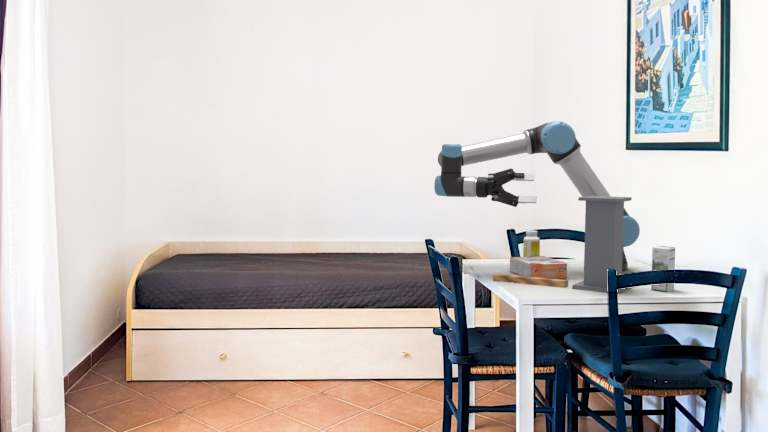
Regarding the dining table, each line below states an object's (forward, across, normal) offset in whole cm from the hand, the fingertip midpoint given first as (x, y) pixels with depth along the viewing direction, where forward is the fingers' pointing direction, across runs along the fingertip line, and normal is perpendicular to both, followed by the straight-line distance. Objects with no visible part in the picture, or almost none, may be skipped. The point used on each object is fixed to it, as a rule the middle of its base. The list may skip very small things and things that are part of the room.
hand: (535, 188), depth 283 cm
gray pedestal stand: (+25, -9, -34) cm, 43 cm away
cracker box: (-4, -30, -13) cm, 34 cm away
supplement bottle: (-5, -54, +1) cm, 54 cm away
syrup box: (+44, -11, -32) cm, 56 cm away
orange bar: (0, -9, -32) cm, 33 cm away
